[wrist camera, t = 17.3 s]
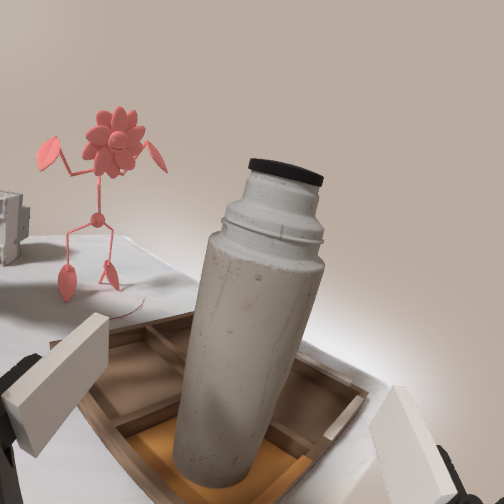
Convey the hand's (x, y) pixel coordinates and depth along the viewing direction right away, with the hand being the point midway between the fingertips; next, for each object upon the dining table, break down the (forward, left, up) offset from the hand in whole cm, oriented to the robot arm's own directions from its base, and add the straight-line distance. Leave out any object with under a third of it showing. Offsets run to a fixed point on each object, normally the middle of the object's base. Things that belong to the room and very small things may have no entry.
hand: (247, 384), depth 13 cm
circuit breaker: (-72, 0, -20) cm, 75 cm away
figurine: (-44, +14, -20) cm, 50 cm away
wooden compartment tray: (-13, +15, -20) cm, 28 cm away
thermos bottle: (-6, +8, -19) cm, 21 cm away
